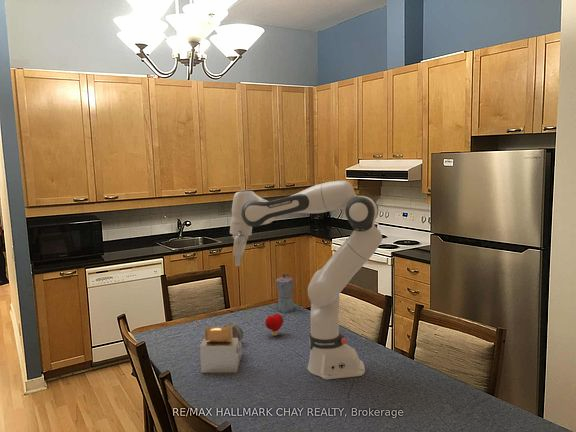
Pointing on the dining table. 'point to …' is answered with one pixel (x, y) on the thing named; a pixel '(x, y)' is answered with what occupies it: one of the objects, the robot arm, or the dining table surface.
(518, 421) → the dining table surface
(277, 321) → the red heart ornament
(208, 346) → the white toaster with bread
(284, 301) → the moka pot
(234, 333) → the vintage flashlight
